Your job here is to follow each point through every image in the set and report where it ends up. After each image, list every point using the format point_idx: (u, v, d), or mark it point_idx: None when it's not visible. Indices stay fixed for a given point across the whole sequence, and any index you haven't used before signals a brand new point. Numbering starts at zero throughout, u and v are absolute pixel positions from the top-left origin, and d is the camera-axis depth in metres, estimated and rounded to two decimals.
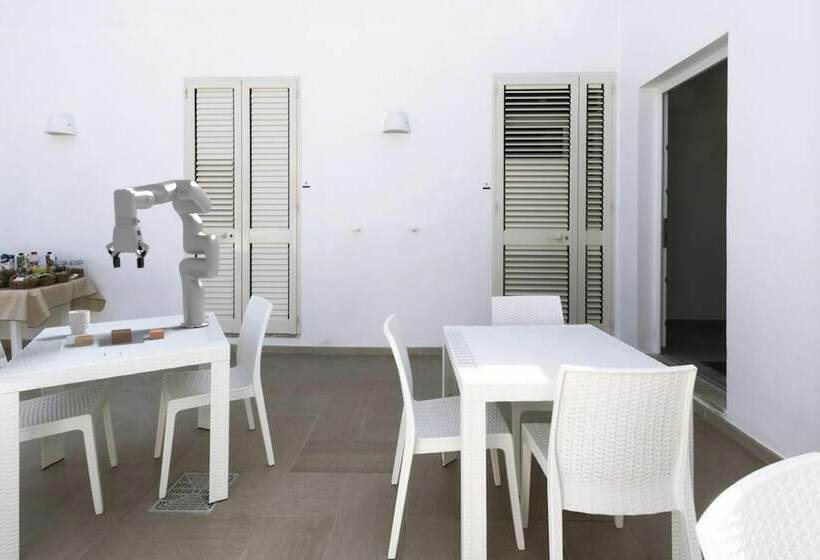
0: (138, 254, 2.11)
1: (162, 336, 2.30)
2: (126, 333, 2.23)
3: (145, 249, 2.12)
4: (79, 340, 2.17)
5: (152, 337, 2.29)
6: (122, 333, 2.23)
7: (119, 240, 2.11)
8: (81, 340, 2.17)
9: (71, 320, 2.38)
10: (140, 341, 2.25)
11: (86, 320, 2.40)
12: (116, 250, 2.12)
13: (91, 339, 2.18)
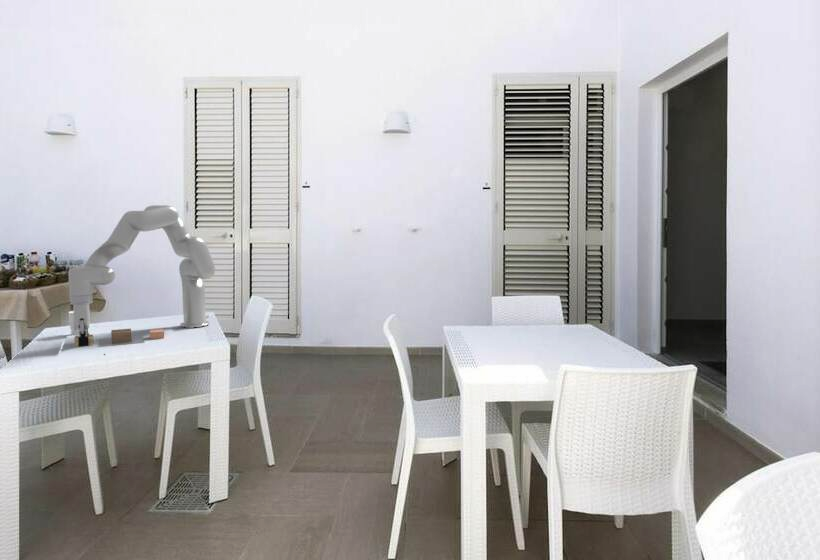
0: (87, 330, 2.23)
1: (162, 336, 2.30)
2: (126, 333, 2.23)
3: None
4: None
5: (152, 337, 2.29)
6: (122, 333, 2.23)
7: (89, 316, 2.19)
8: None
9: (71, 320, 2.38)
10: (140, 341, 2.25)
11: None
12: (88, 327, 2.17)
13: (91, 339, 2.18)
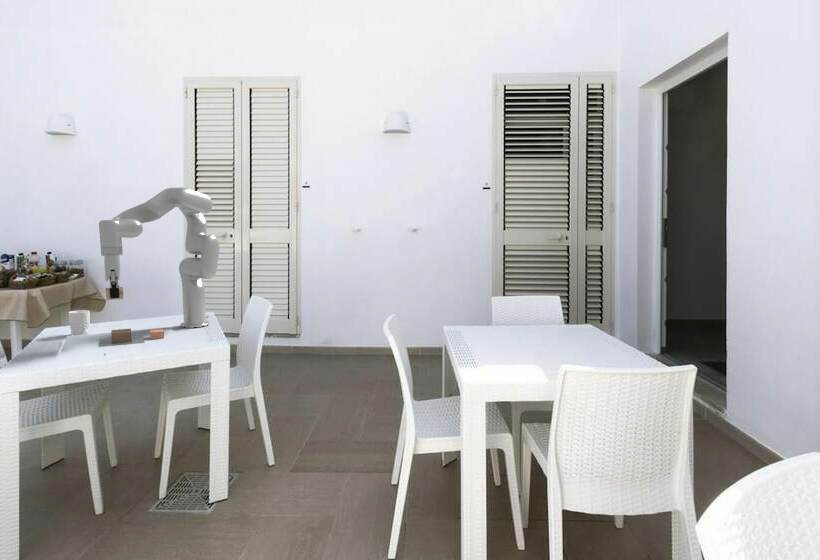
0: None
1: (162, 336, 2.30)
2: (126, 333, 2.23)
3: None
4: None
5: (152, 337, 2.29)
6: (122, 333, 2.23)
7: (119, 268, 2.22)
8: None
9: (71, 320, 2.38)
10: (140, 341, 2.25)
11: (86, 320, 2.40)
12: (119, 278, 2.20)
13: (121, 290, 2.22)
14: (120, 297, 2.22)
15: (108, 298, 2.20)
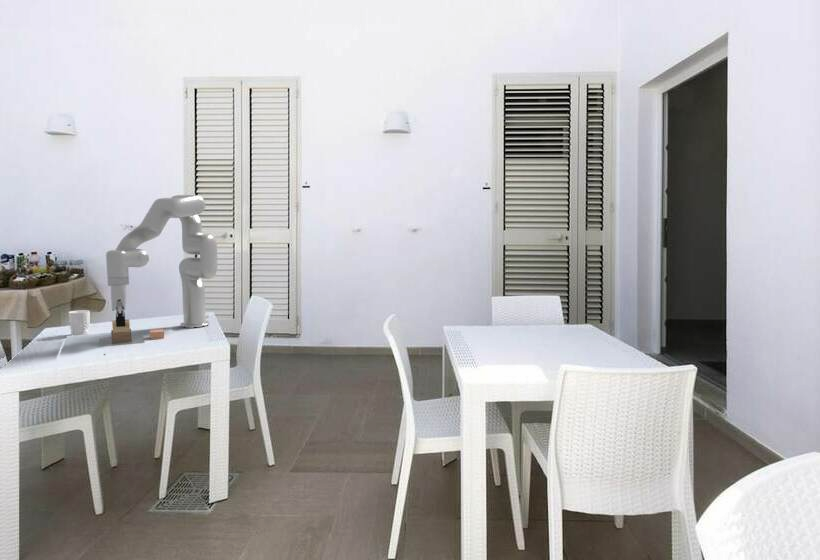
0: None
1: (162, 336, 2.30)
2: (126, 333, 2.23)
3: None
4: None
5: (152, 337, 2.29)
6: (122, 333, 2.23)
7: None
8: None
9: (71, 320, 2.38)
10: (140, 341, 2.25)
11: (86, 320, 2.40)
12: (125, 308, 2.22)
13: (128, 323, 2.24)
14: (126, 330, 2.24)
15: (115, 331, 2.22)
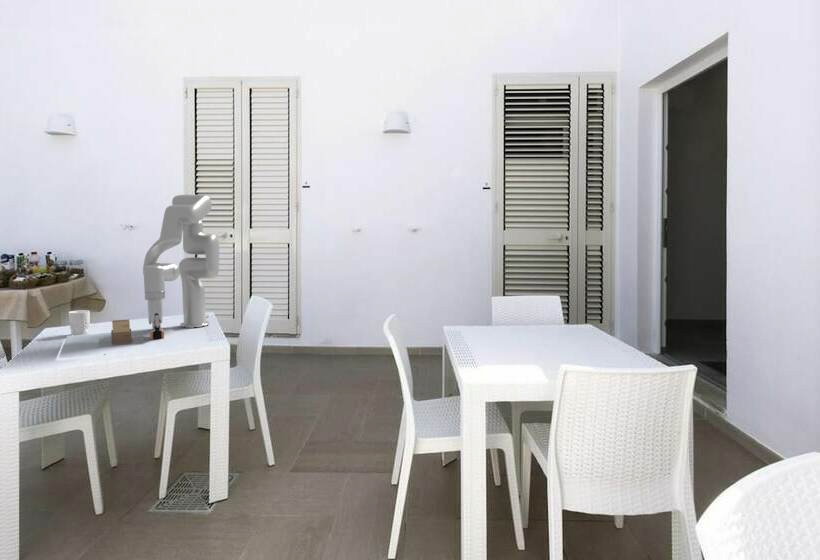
0: None
1: (162, 336, 2.30)
2: (126, 333, 2.23)
3: None
4: (116, 324, 2.22)
5: (152, 337, 2.29)
6: (122, 333, 2.23)
7: None
8: (118, 324, 2.22)
9: (71, 320, 2.38)
10: (140, 341, 2.25)
11: (86, 320, 2.40)
12: None
13: (128, 323, 2.24)
14: (126, 330, 2.24)
15: (115, 331, 2.22)
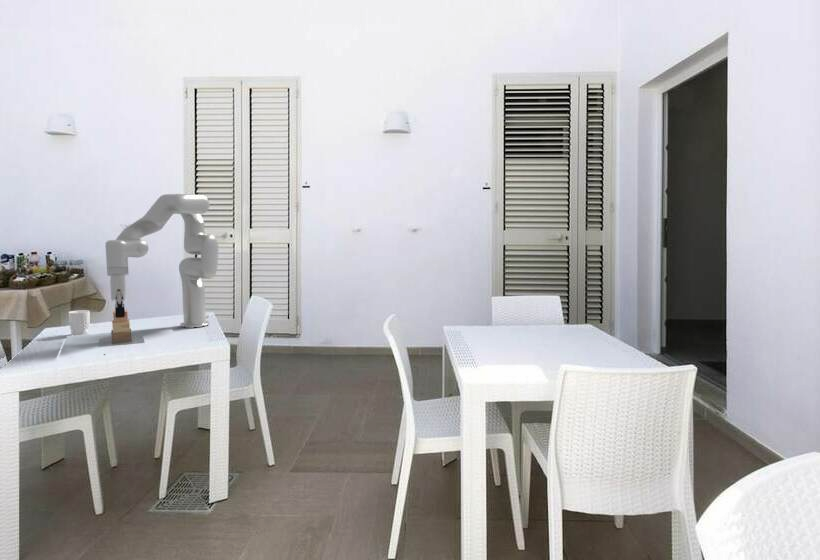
0: None
1: (125, 316, 2.24)
2: (126, 333, 2.23)
3: None
4: (116, 324, 2.22)
5: (115, 317, 2.22)
6: (122, 333, 2.23)
7: (125, 288, 2.23)
8: (118, 324, 2.22)
9: (71, 320, 2.38)
10: (140, 341, 2.25)
11: (86, 320, 2.40)
12: None
13: (128, 323, 2.24)
14: (126, 330, 2.24)
15: (115, 331, 2.22)
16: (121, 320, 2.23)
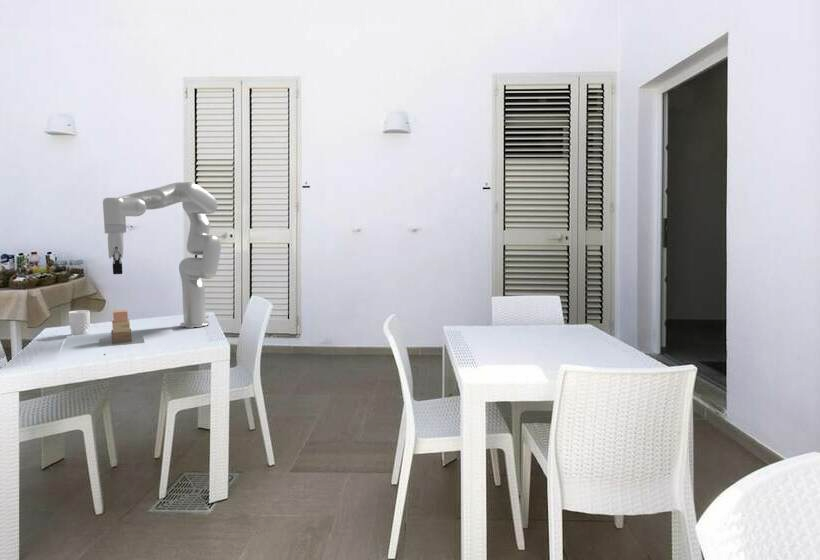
0: None
1: (125, 316, 2.24)
2: (126, 333, 2.23)
3: None
4: (116, 324, 2.22)
5: (115, 317, 2.22)
6: (122, 333, 2.23)
7: None
8: (118, 324, 2.22)
9: (71, 320, 2.38)
10: (140, 341, 2.25)
11: (86, 320, 2.40)
12: (122, 256, 2.20)
13: (128, 323, 2.24)
14: (126, 330, 2.24)
15: (115, 331, 2.22)
16: (121, 320, 2.23)
